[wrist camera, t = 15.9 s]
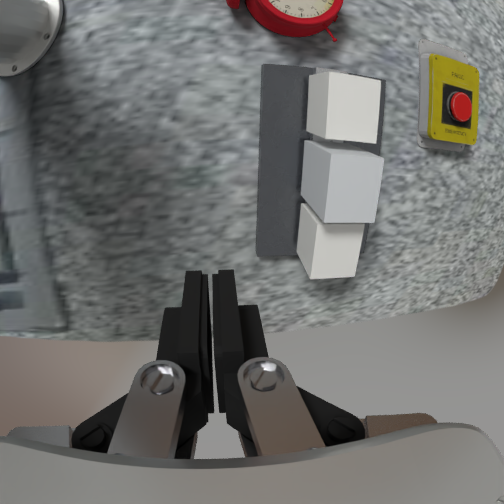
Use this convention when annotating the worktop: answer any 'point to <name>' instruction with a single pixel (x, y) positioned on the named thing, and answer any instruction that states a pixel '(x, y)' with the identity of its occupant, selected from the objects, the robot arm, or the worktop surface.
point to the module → (341, 181)
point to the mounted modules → (339, 128)
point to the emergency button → (446, 98)
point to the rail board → (289, 155)
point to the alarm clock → (293, 15)
